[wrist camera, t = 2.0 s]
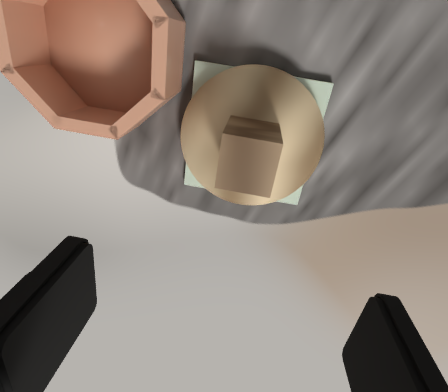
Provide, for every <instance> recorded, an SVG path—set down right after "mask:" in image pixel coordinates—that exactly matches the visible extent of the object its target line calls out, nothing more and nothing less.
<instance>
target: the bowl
mask: <svg viewBox="0 0 448 392" xmlns="http://www.w3.org/2000/svg"><path fill="white" fill-rule="evenodd" d="M185 26H186V22H185V21H184V19H183V18H182V16H181V15H180V13H179V12H178V11H177V9H176V8H175V6H174V5H173V3H172V2H171V0H0V70H1V72H2V74H3V75H4V76H5V77H6V78H7V79H8V80H9V81H10V82H11V83H12V84H13V85H14V86H15V87H16V88H17V89H18V90H19V91H20V93H21V94H22V95H23V96H24V97H25V98H26V99H27V100H28V101H29V102H30V103H31V104H32V105H33V106H34V107H35V108H36V109H37V110H38V112H39V113H40V114H41V115H42V116H43V117H44V118H45V119H46V120H47V121H48V122H49V123H50V124H51V125H52V126H53V127H54V128H56V129H60V130H66V131H72V132H77V133H83V134H88V135H94V136H100V137H106V138H111V139H116V140H118V139H119V138H121V137H123V136H124V135H126V134H127V133H129V132H130V131H132V130H133V129H135V128H136V127H138V126H139V125H140V124H142V123H143V122H144V121H145V120H146V119H148V118H149V117H150V116H151V115H152V114H154V113H155V112H156V111H157V110H158V109H160V108H161V107H162V106H163V105H164V104H166V103H167V102H168V101H169V100H170V99H172V98H173V97H174V96H175V95H177V94H178V93H179V92H180V91H181V83H182V69H183V55H184V40H185Z"/></svg>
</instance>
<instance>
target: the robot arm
mask: <svg viewBox="0 0 448 392" xmlns="http://www.w3.org/2000/svg"><path fill="white" fill-rule="evenodd" d="M96 304H97V296H96V283H95V270H94V257H93V247H92V245H91V244H89V243H88V240H87V239H84V238H79V237H74V236H68V237H66V238H65V239H64V240H63V241H62V242H61V243H60V244H59V245H58V246H57V247H56V248H55V249H54V250H53V251H52V252H51V253H50V254H49V255H48V256H47V257H46V258H45V259H44V260H42V261H41V262H40V263H39V265H37V266H36V267H35V268H34V269H33V270H32V271H31V272H29V273H28V274H27V275H25V276H24V277H23V278H22V279H21V280H20V281H19V282H18V283H17V284H16V285H15V286H14V287H13V288H12V289H11V290H10V291H9V292H8V293H7V294H6V295H5V296H3V297H2V299H0V392H43V391H44V390H45V388H46V387H47V385H48V384H49V382H50V380H51V379H52V377H53V376H54V374H55V372H56V371H57V369H58V368H59V366H60V364H61V363H62V361H63V360H64V358H65V357H66V355H67V353H68V352H69V350H70V349H71V347H72V345H73V344H74V342H75V341H76V339H77V337H78V336H79V334H80V333H81V331H82V329H83V328H84V326H85V325H86V323H87V321H88V320H89V318H90V317H91V315H92V313H93V312H94V310H95V307H96ZM342 357H343V362H344V366H345V370H346V373H347V377H348V381H349V384H350V388H351V392H448V385H447V383H446V381H445V380H444V378H443V376H442V374H441V372H440V370H439V369H438V367H437V365H436V363H435V361H434V360H433V358H432V356H431V354H430V353H429V351H428V349H427V348H426V345H425V344H424V342H423V340H422V338H421V336H420V335H419V333H418V331H417V329H416V328H415V326H414V324H413V322H412V320H411V319H410V317H409V315H408V313H407V311H406V310H405V308H404V306H403V305H402V303H401V301H400V299H399V298H398V297H396V296H391V295H385V294H379V293H377V294H376V295H375V296H374V297H370V298H369V300H368V302H367V303H366V305H365V307H364V309H363V311H362V313H361V315H360V317H359V319H358V321H357V323H356V325H355V327H354V329H353V331H352V332H351V334H350V336H349V338H348V340H347V342H346V344H345V346H344V348H343V353H342Z"/></svg>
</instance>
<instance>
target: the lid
mask: <svg viewBox="0 0 448 392" xmlns="http://www.w3.org/2000/svg"><path fill="white" fill-rule="evenodd" d="M323 146H324V124H323V118H322V115H321V112H320V109H319V107H318V105H317V103H316V101H315V99H314V98H313V96H312V95H311V93H310V92H309V91H308V90H307V88H306V87H305V86H304V85H303V84H302V83H301V82H300V81H298V80H297V79H296V78H295V77H293V76H292V75H290V74H288V73H287V72H285V71H283V70H280V69H278V68H275V67H271V66H267V65H259V64H248V65H241V66H236V67H232V68H230V69H227V70H224V71H222V72H220V73H219V74H217V75H215V76H214V77H212V78H211V79H209V80H208V81H207V82H206V83H204V84H203V85H202V86H201V87H200V88H199V89H198V91H197V92H196V93H195V94H194V95H193V97H192V99H191V100H190V102H189V104H188V106H187V108H186V110H185V113H184V116H183V120H182V125H181V147H182V151H183V155H184V158H185V161H186V163H187V166H188V167H189V169H190V171H191V173H192V174H193V175H194V177H195V178H196V180H197V181H198V182H199V183H200V184H201V185H202V186H203V187H204V188H206V189H207V190H208V191H209V192H211V193H212V194H214V195H215V196H217V197H219V198H221V199H224V200H226V201H229V202H232V203H236V204H242V205H262V204H267V203H272V202H275V201H278V200H281V199H283V198H285V197H287V196H289V195H290V194H292V193H293V192H295V191H296V190H297V189H299V188H300V187H301V186H302V185H303V184H304V183H305V182H306V181H307V180H308V179H309V177H310V176H311V175H312V173H313V172H314V170H315V168H316V167H317V165H318V163H319V160H320V157H321V155H322V151H323Z"/></svg>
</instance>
